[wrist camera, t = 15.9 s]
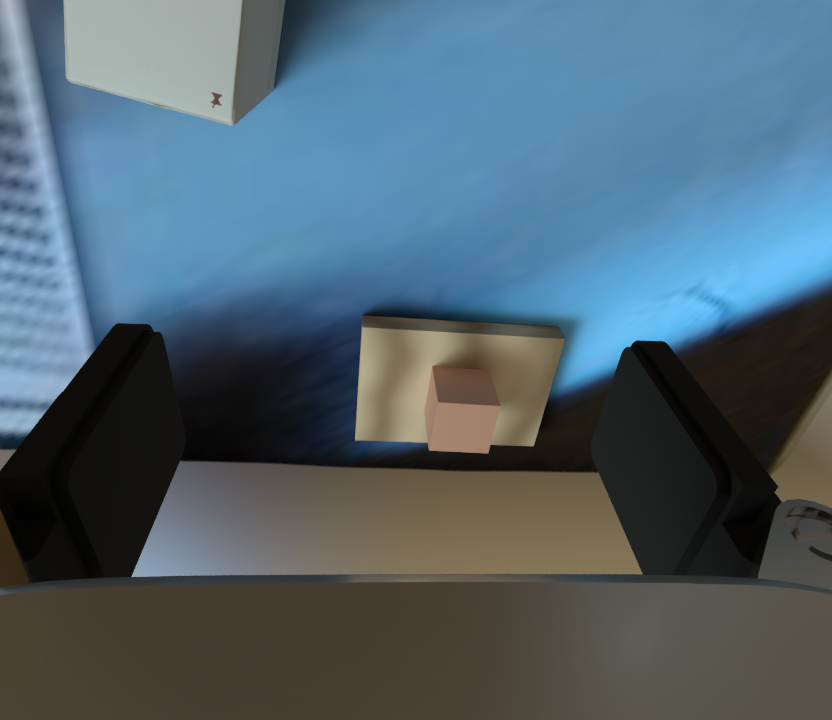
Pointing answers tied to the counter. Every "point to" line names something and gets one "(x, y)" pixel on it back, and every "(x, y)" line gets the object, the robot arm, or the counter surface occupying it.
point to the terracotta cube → (461, 410)
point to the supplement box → (177, 52)
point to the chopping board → (456, 348)
